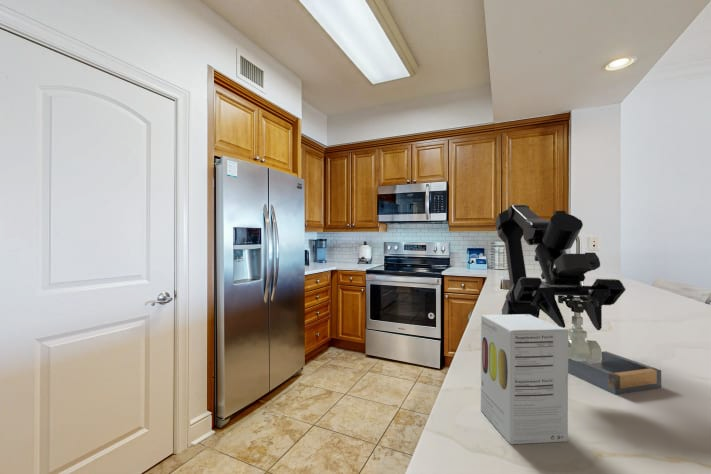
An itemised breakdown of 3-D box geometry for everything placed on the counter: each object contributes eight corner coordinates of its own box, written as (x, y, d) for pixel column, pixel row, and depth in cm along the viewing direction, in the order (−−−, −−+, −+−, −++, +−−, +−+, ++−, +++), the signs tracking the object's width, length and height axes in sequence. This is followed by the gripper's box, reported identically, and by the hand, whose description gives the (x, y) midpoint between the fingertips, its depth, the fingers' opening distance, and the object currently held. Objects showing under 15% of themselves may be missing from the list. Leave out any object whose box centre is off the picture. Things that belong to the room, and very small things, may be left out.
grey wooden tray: (564, 371, 71) (564, 355, 71) (605, 366, 74) (605, 351, 74) (615, 394, 60) (615, 376, 60) (661, 387, 63) (661, 370, 63)
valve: (607, 369, 56) (607, 302, 56) (566, 366, 57) (566, 301, 57) (586, 355, 63) (586, 295, 63) (550, 353, 64) (550, 294, 64)
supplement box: (479, 410, 55) (478, 313, 55) (529, 407, 55) (528, 312, 56) (510, 446, 45) (510, 329, 45) (570, 442, 46) (570, 328, 46)
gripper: (518, 238, 65) (539, 302, 55) (619, 238, 62) (663, 307, 51) (507, 271, 73) (523, 333, 62) (596, 273, 70) (630, 339, 59)
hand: (581, 328), depth 59 cm, fingers closed on valve, 6 cm apart
